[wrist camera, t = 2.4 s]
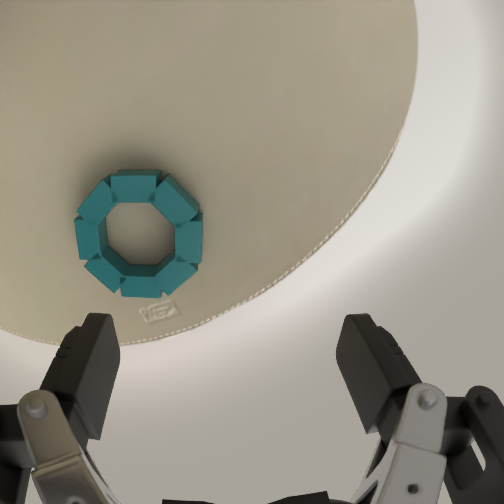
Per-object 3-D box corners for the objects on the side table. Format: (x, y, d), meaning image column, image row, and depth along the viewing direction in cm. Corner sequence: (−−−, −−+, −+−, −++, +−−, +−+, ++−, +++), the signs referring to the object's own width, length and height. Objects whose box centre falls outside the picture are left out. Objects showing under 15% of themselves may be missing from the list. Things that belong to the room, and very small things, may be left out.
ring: (93, 282, 26) (85, 294, 24) (80, 171, 22) (70, 177, 20) (201, 287, 27) (201, 299, 25) (204, 170, 23) (203, 176, 21)
